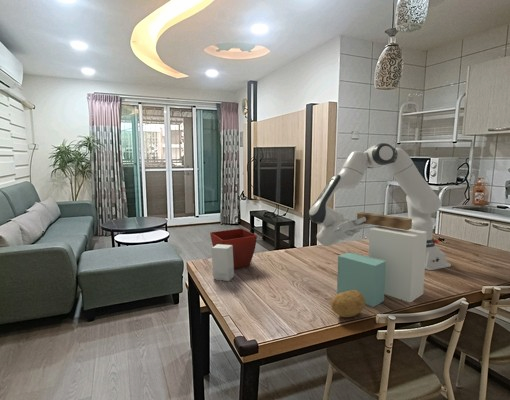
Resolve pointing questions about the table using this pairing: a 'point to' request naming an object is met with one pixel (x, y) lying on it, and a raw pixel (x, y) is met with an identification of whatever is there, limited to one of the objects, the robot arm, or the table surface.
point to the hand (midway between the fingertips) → (369, 217)
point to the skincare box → (223, 262)
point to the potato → (348, 303)
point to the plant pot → (237, 244)
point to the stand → (400, 260)
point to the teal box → (362, 276)
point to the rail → (386, 221)
